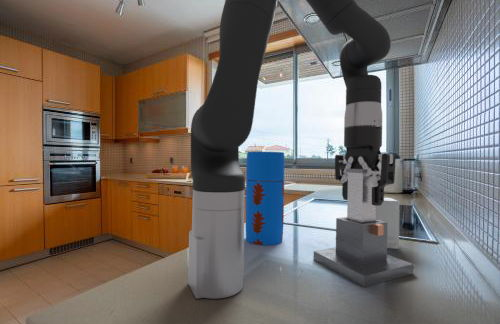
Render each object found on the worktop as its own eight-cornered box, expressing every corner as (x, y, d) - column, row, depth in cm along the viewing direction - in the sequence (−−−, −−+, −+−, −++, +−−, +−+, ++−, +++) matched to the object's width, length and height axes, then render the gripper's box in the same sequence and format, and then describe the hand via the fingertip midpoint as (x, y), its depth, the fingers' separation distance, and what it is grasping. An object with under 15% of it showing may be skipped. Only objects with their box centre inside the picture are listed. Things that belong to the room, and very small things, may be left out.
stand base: (364, 287, 46) (365, 231, 46) (313, 259, 59) (314, 216, 59) (413, 273, 52) (413, 224, 52) (357, 251, 65) (358, 211, 65)
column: (361, 261, 53) (363, 169, 53) (344, 253, 57) (345, 168, 57) (377, 257, 55) (378, 169, 55) (359, 250, 59) (360, 168, 59)
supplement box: (399, 249, 67) (400, 201, 67) (369, 247, 69) (370, 199, 69) (390, 241, 74) (391, 197, 74) (362, 239, 76) (363, 196, 76)
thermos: (239, 242, 71) (240, 151, 71) (252, 232, 81) (254, 153, 81) (277, 247, 67) (279, 151, 67) (286, 236, 77) (288, 153, 77)
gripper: (326, 128, 61) (325, 198, 61) (380, 120, 48) (378, 209, 48) (349, 130, 64) (348, 197, 64) (406, 123, 51) (404, 206, 51)
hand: (361, 202), depth 56 cm, fingers open, 7 cm apart
